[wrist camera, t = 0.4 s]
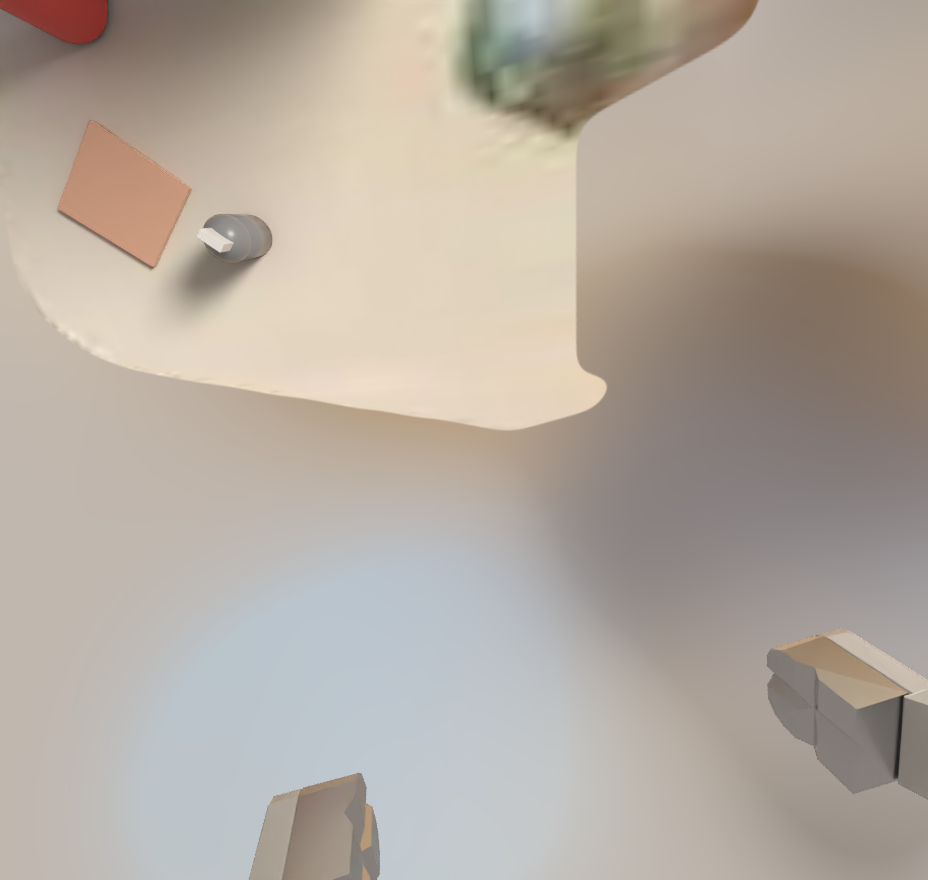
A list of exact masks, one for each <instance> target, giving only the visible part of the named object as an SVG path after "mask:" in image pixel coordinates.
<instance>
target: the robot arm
mask: <svg viewBox="0 0 928 880" xmlns="http://www.w3.org/2000/svg"><path fill="white" fill-rule="evenodd" d="M767 666H768V667H769V668H770V669H771V670H772V671H773V672H774V674H773V676H772V678H771V680H770V681H769V683H768V699H769V701H770V704H771V706H772V708H773V710H774V713H775V715H776V716H777V717H778V719H779V720H780V721H781V723H782V724H783V726H784V727H785V728H786V729H787V730H788V731H789V732H790V733H791V734H792V735H793V736H794V737H795V738H797V739H799V740H802V741H804V742H806V743H808V744H810V745H813V746H814V749H815V752H816V756H817V759H818V760H819V761H820V762H821V763H822V764H823V765H824V766H825V767H826V768H827V769H828V770H829V771H830V772H831V773H832V774H833V775H834V776H835V777H836V778H837V779H838V780H839V781H840V782H841V783H842V784H843V785H845V786H846V787H847V788H848V789H849V790H850V791H851V792H852V793H853V794H855V793H858V792H861V791H864V790H868V789H871V788H875V787H878V786H881V785H884V784H888V783H891V782H894V781H897V780H898V784H899V785H901V786H903V787H905V788H907V789H909V790H911V791H912V792H914V793H916V794H918V795H920V796H922V797H924V798H926V799H928V680H927V679H925V678H924V677H922V676H920V675H919V674H917V673H916V672H914V671H912V670H911V669H909V668H908V667H906V666H904V665H903V664H901V663H900V662H898V661H896V660H895V659H893V658H892V657H890V656H888V655H887V654H885V653H883V652H882V651H881V650H879V649H877V648H876V647H874V646H873V645H871V644H869V643H868V642H866V641H865V640H863V639H861V638H860V637H858V636H857V635H855V634H853V633H852V632H850V631H847V630H844V629H841V628H838V629H835V630H831V631H828V632H825V633H821V634H818V635H816V636H811V637H807V638H804V639H801V640H798V641H795V642H792V643H788V644H785V645H782V646H779V647H776V648H773V649H771V650H770V651H769V653H768V655H767ZM379 874H380V851H379V839H378V829H377V824H376V819H375V815H374V811H373V808H372V806H370V805H368V804H367V803H366V785H365V782H364V779H363V776H362V774H361V773H357V774H353V775H350V776H346V777H342V778H339V779H334V780H331V781H327V782H323V783H320V784H316V785H313V786H308V787H305V788H303V789H299V790H296V791H292V792H289V793H285V794H281V795H277V796H274V797H273V799H272V801H271V802H270V804H269V806H268V808H267V812H266V816H265V819H264V823H263V827H262V831H261V835H260V838H259V842H258V846H257V850H256V854H255V858H254V861H253V865H252V869H251V873H250V877H249V880H377V877H378V876H379Z"/></svg>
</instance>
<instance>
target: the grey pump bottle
mask: <svg viewBox="0 0 928 880" xmlns="http://www.w3.org/2000/svg"><path fill="white" fill-rule="evenodd" d="M196 237H197V238H199V239H200V240H202V241H203V242H204V244H205V246H206V248H207V249H208V250H209V252H210V253H211V254H212V255H213V256H215V257H216V258H218V259H220V260H222V261H225V262H239V261H243V260H247V259H251V258H255V257H259V256H263V255H265V254H266V253H267V252H268V251H269V250H270V248H271V245H272V235H271V231H270V229H269V227H268V226H267V225H266V223H265V222H264V221H263V220H261V219H260V218H258V217H256V216H253V215H234V214H219V215H215V216H212V217H211V218H209V219H208V220H207V221H206V223H205V225H204V227H203V228H200V230H199V232H198V234H197V236H196Z"/></svg>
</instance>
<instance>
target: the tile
mask: <svg viewBox="0 0 928 880" xmlns="http://www.w3.org/2000/svg"><path fill="white" fill-rule="evenodd" d="M191 190H192V189H191V188H190V187H188V186H187V185H185V184H184V183H183V182H181V181H180V180H178V179H177V178H175V177H174V176H172V175H171V174H170V173H168V172H167V171H165V170H164V169H162V168H161V167H159V166H158V165H157V164H155V163H154V162H152V161H151V160H149V159H148V158H146V157H145V156H144V155H142V154H141V153H139V152H138V151H136V150H135V149H133V148H132V147H130V146H129V145H128V144H126V143H125V142H123V141H122V140H120V139H119V138H117V137H116V136H115V135H113V134H112V133H110V132H109V131H107V130H106V129H104V128H103V127H102V126H100V125H99V124H97V123H96V122H94V121H91V120H90V122H89V125H88V127H87V130H86V133H85V136H84V138H83V141H82V144H81V146H80V149H79V152H78V154H77V157H76V160H75V163H74V165H73V168H72V171H71V173H70V176H69V179H68V182H67V184H66V187H65V190H64V192H63V195H62V198H61V200H60V203H59V206H58V209H59V210H60V211H62V212H64V213H65V214H67V215H69V216H70V217H72V218H74V219H75V220H77V221H78V222H80V223H82V224H83V225H85V226H87V227H88V228H90V229H91V230H93V231H95V232H96V233H98V234H100V235H101V236H103V237H104V238H106V239H108V240H109V241H111V242H113V243H114V244H116V245H117V246H119V247H121V248H122V249H124V250H126V251H127V252H129V253H130V254H132V255H134V256H135V257H137V258H139V259H140V260H142V261H144V262H145V263H147V264H148V265H150V266H152V267H156V265H157V263H158V261H159V259H160V257H161V255H162V252H163V250H164V248H165V246H166V244H167V242H168V239H169V237H170V235H171V233H172V231H173V229H174V226H175V224H176V222H177V220H178V218H179V216H180V213H181V211H182V209H183V207H184V205H185V203H186V200H187V198H188V196H189V194H190V192H191Z"/></svg>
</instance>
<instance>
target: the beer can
mask: <svg viewBox="0 0 928 880" xmlns="http://www.w3.org/2000/svg"><path fill="white" fill-rule="evenodd" d="M0 9H2V10H4V11H6V12H8V13H10V14H12V15H14V16H16V17H18V18H20V19H22V20H24V21H26V22H28V23H30V24H31V25H33V26H35V27H37V28H39V29H41V30H43V31H45V32H47V33H49V34H51V35H53V36H55V37H57V38H59V39H61V40H63V41H66V42H70V43H74V44H84V43H90V42H91V41H93V40H95V39H96V38H98V37H99V36H100V35H101V33H102V32H103V30H104V29H105V27H106V23H107V18H108V5H107V0H0Z"/></svg>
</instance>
